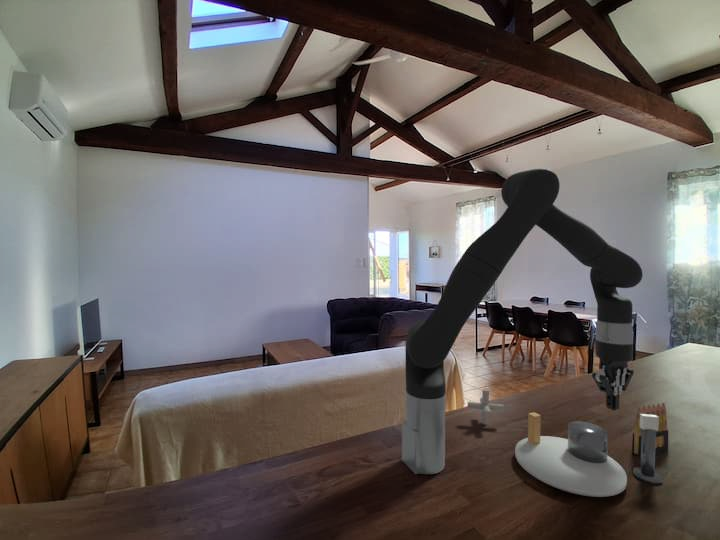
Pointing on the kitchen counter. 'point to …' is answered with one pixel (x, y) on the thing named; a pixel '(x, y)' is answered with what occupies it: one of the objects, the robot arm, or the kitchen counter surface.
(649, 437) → the stand
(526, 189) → the robot arm
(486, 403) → the pipe connector
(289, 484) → the kitchen counter surface
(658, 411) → the ammunition clip
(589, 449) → the cover
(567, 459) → the platter
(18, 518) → the kitchen counter surface
